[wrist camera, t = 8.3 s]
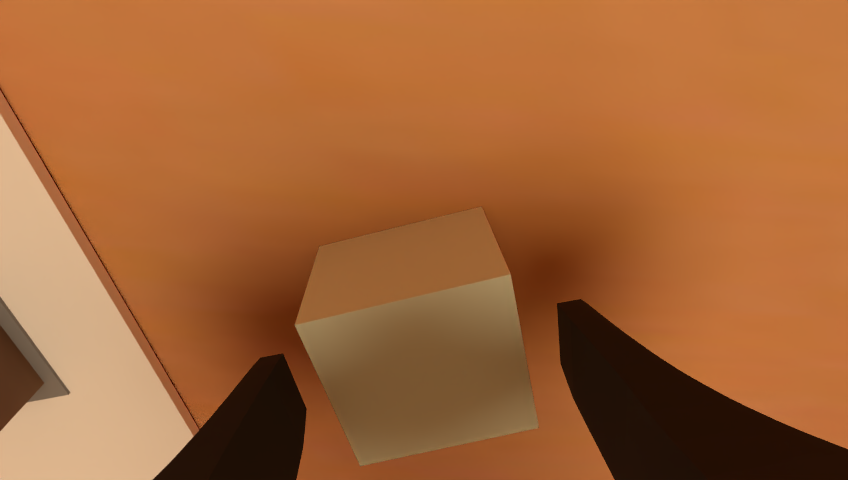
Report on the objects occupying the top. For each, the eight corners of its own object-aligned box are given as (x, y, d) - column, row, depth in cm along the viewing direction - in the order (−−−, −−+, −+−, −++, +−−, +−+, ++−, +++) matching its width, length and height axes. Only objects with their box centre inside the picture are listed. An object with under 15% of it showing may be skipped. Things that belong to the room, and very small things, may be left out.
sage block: (507, 333, 16) (539, 427, 13) (367, 365, 16) (360, 466, 13) (480, 204, 14) (510, 274, 10) (319, 243, 14) (294, 325, 11)
